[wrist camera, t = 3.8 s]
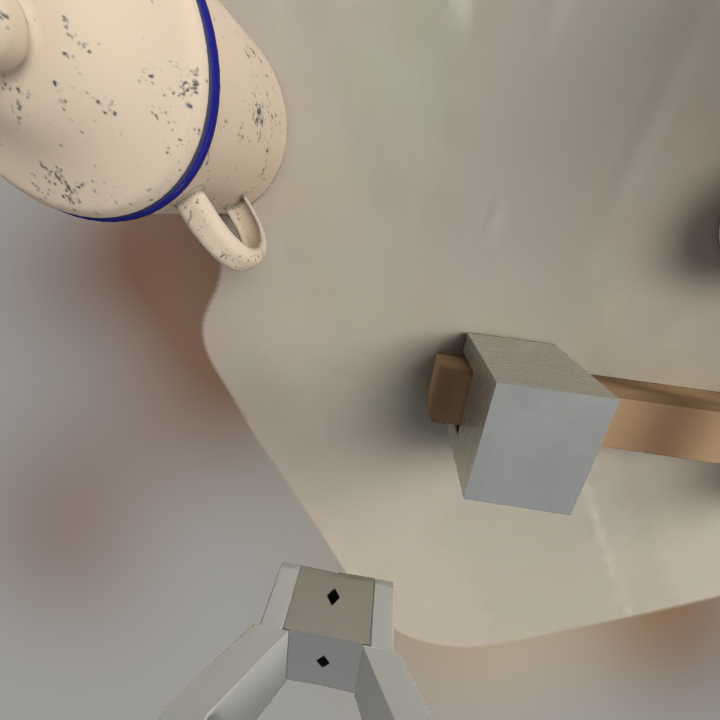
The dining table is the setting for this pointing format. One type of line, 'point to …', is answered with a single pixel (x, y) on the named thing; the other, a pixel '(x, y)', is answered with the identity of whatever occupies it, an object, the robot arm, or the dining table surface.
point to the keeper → (528, 425)
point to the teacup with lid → (141, 115)
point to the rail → (630, 422)
